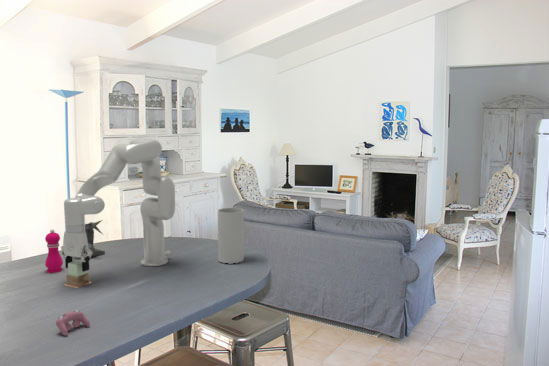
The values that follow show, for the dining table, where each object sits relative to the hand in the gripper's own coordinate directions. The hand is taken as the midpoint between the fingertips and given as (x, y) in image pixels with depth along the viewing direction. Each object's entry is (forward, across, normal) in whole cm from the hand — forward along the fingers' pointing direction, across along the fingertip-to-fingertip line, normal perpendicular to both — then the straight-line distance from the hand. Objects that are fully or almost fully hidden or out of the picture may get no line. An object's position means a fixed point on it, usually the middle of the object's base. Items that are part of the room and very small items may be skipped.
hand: (77, 268), depth 207 cm
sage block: (+2, 0, 0) cm, 2 cm away
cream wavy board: (+7, -3, +4) cm, 9 cm away
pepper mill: (+8, -23, +7) cm, 25 cm away
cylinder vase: (+8, +36, +61) cm, 71 cm away
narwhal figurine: (+8, -29, +32) cm, 44 cm away
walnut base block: (+6, 0, 0) cm, 6 cm away
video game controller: (+8, +32, -30) cm, 45 cm away
